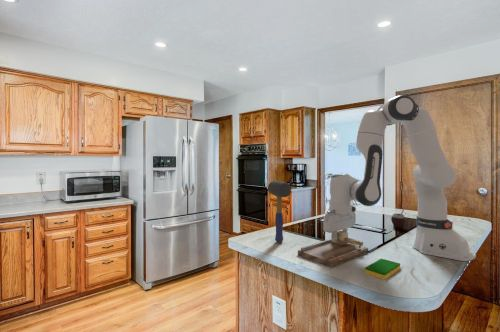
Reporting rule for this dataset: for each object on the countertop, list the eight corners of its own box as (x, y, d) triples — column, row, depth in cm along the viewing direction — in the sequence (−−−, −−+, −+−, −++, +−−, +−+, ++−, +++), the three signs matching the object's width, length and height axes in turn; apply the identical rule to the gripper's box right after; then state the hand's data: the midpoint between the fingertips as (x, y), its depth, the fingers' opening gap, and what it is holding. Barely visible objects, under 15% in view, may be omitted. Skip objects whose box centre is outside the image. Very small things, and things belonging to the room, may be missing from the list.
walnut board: (370, 253, 120) (370, 245, 120) (333, 268, 104) (333, 259, 104) (334, 243, 134) (334, 236, 134) (297, 255, 118) (297, 247, 118)
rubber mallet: (292, 245, 131) (292, 181, 130) (278, 247, 129) (278, 182, 128) (279, 238, 143) (279, 179, 142) (266, 239, 140) (266, 180, 139)
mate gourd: (388, 227, 164) (388, 202, 163) (397, 226, 167) (398, 201, 166) (400, 230, 157) (400, 204, 156) (409, 228, 160) (409, 202, 160)
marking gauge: (364, 247, 120) (364, 236, 120) (359, 249, 118) (359, 238, 117) (336, 240, 131) (336, 229, 131) (331, 242, 129) (331, 231, 128)
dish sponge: (400, 269, 104) (400, 263, 104) (385, 280, 94) (385, 273, 94) (381, 264, 109) (381, 258, 109) (364, 274, 100) (364, 267, 100)
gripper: (331, 212, 118) (331, 245, 118) (358, 207, 131) (358, 236, 131) (319, 210, 123) (319, 241, 123) (346, 205, 136) (346, 233, 136)
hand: (339, 238), depth 127 cm, fingers open, 4 cm apart
